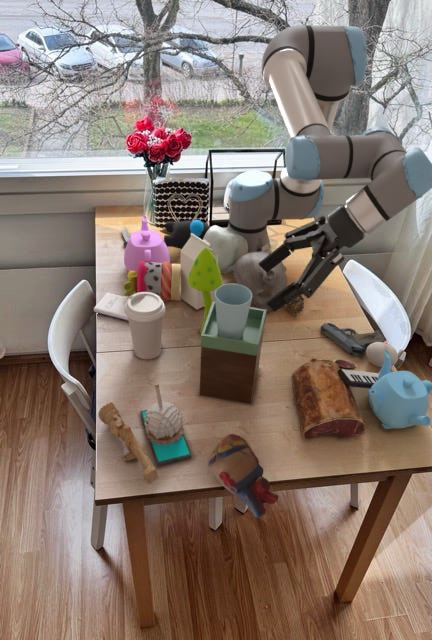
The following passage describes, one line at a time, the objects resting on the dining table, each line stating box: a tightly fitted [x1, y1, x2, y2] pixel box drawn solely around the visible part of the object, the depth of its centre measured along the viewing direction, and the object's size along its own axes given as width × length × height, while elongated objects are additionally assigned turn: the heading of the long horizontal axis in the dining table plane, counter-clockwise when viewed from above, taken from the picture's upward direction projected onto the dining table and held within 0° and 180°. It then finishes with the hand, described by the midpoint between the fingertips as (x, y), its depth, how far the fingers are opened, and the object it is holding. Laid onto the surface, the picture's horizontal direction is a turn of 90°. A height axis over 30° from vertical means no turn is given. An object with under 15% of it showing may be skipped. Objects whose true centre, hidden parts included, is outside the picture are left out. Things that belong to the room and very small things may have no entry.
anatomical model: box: [207, 433, 279, 519], centre depth 109 cm, size 9×13×15 cm
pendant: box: [285, 294, 305, 318], centre depth 148 cm, size 5×8×5 cm
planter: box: [203, 224, 248, 276], centre depth 159 cm, size 12×12×11 cm
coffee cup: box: [124, 292, 167, 360], centre depth 131 cm, size 10×10×15 cm
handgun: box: [320, 322, 388, 356], centre depth 142 cm, size 2×14×12 cm
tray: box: [200, 301, 267, 356], centre depth 118 cm, size 12×12×3 cm
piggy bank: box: [224, 252, 288, 314], centre depth 152 cm, size 18×16×14 cm
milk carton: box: [180, 233, 218, 310], centre depth 146 cm, size 7×7×19 cm
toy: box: [163, 219, 212, 250], centre depth 165 cm, size 9×11×15 cm
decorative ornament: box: [143, 382, 185, 446], centre depth 112 cm, size 8×8×15 cm
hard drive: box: [93, 292, 130, 322], centre depth 147 cm, size 2×8×12 cm
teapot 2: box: [367, 350, 432, 430], centre depth 120 cm, size 15×14×11 cm
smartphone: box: [140, 409, 192, 467], centre depth 117 cm, size 7×1×15 cm
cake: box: [122, 261, 181, 302], centre depth 148 cm, size 10×11×15 cm
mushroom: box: [188, 248, 223, 334], centre depth 133 cm, size 8×8×25 cm
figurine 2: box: [365, 340, 399, 368], centre depth 134 cm, size 8×6×7 cm
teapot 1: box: [123, 215, 171, 273], centre depth 158 cm, size 20×13×12 cm, turn 9°
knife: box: [121, 227, 131, 248], centre depth 172 cm, size 17×1×5 cm
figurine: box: [98, 401, 159, 486], centre depth 111 cm, size 7×4×20 cm
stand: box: [199, 327, 265, 405], centre depth 124 cm, size 12×12×15 cm
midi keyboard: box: [338, 368, 379, 390], centre depth 126 cm, size 18×1×5 cm
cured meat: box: [291, 357, 367, 439], centre depth 125 cm, size 18×25×7 cm
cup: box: [214, 282, 252, 340], centre depth 114 cm, size 8×8×10 cm
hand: (266, 286), depth 111 cm, fingers open, 13 cm apart
